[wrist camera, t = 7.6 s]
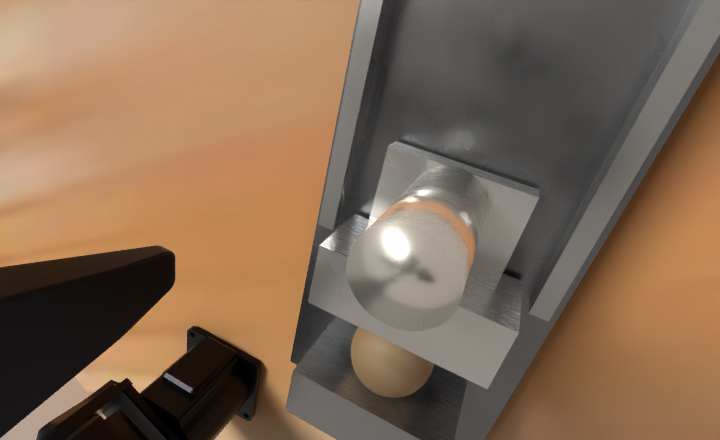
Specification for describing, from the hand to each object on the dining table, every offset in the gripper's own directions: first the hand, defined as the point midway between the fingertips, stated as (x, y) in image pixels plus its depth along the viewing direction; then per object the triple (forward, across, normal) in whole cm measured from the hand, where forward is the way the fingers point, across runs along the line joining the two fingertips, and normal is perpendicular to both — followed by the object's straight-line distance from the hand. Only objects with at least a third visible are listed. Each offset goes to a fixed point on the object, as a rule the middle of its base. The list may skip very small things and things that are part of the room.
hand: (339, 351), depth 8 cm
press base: (+12, 0, +2) cm, 12 cm away
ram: (+10, 0, +2) cm, 10 cm away
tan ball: (+10, 0, +7) cm, 13 cm away
